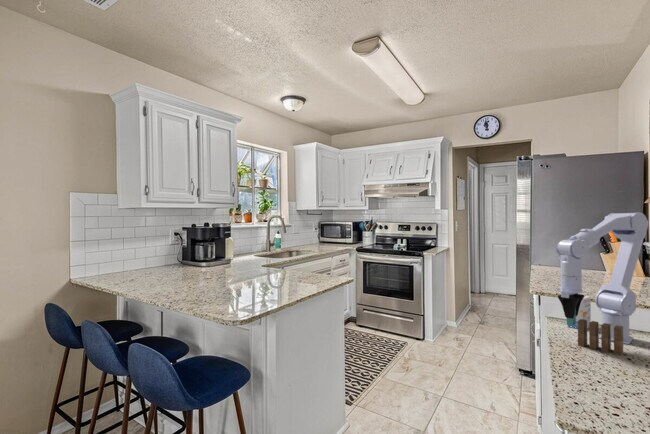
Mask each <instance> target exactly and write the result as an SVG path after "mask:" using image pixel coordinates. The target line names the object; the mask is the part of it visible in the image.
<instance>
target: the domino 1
mask: <svg viewBox="0 0 650 434" xmlns="http://www.w3.org/2000/svg"><path fill="white" fill-rule="evenodd" d="M574 324H576V308H575V314H574V318H573V319H572V318H566V325H572V326H573V325H574Z"/></svg>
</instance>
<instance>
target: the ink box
mask: <svg viewBox="0 0 650 434" xmlns="http://www.w3.org/2000/svg"><path fill="white" fill-rule="evenodd" d="M591 299H592V297H591V296H590V295H589V296H588V295H584V298H583V300H582V301H581V304H580V307H579V312H578V315H577V316H576V324H574V325H573V326H572V325H568V326H572V327H576V328H578V321H579V320H580V319H584V320H587V327H588V328H589V323H590V322H591V321H592V320H591V317H592V316H591V315H592V314H591V312H592V311H591V309H592V308H591ZM568 326H567V327H568ZM576 328H575V329H576Z"/></svg>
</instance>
